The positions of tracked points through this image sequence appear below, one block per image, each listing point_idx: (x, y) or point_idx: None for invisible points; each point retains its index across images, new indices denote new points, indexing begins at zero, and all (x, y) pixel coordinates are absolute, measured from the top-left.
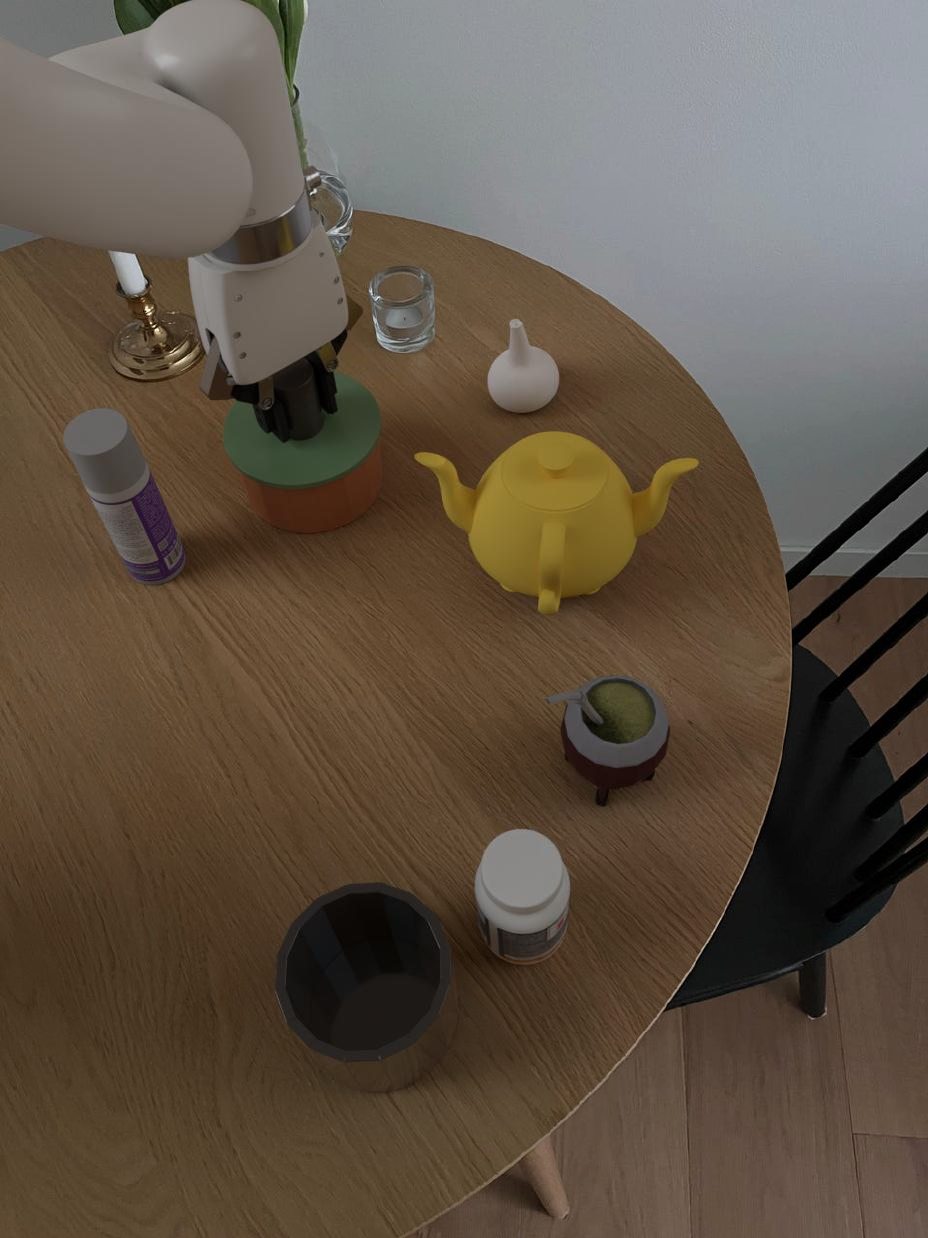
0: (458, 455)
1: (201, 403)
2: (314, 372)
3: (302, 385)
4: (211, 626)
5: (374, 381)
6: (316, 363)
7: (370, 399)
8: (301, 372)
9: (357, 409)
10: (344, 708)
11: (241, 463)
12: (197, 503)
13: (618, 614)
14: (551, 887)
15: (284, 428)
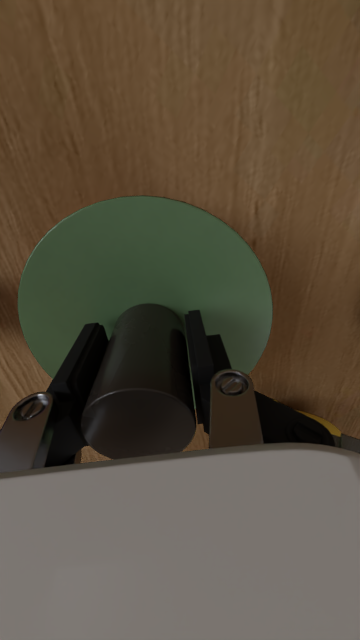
0: (289, 334)
1: (50, 2)
2: (196, 407)
3: None
4: (7, 377)
5: (311, 174)
6: (207, 428)
7: (259, 345)
8: (163, 441)
9: (233, 350)
10: (88, 453)
11: (39, 352)
12: (11, 240)
13: None
14: None
15: None
